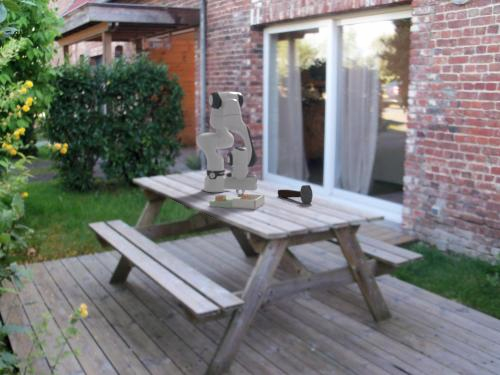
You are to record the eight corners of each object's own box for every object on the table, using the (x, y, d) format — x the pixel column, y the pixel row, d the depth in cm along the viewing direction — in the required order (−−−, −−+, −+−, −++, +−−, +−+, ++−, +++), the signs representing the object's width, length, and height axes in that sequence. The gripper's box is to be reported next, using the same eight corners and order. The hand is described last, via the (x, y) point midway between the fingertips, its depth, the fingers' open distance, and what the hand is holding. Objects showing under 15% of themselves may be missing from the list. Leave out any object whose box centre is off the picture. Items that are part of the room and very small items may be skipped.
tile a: (244, 193, 350) (248, 194, 350) (244, 201, 351) (248, 202, 350) (242, 195, 346) (246, 195, 345) (242, 203, 347) (246, 203, 346)
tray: (242, 202, 355) (242, 193, 354) (264, 203, 350) (264, 194, 350) (232, 207, 338) (232, 198, 337) (255, 209, 334) (255, 200, 333)
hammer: (277, 202, 374) (306, 204, 349) (276, 184, 373) (305, 185, 348) (283, 201, 376) (313, 203, 351) (282, 184, 376) (311, 184, 350)
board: (220, 200, 359) (220, 195, 358) (242, 202, 355) (242, 197, 354) (209, 206, 342) (209, 201, 341) (232, 207, 338) (232, 202, 337)
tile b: (218, 199, 348) (218, 195, 347) (226, 199, 346) (226, 195, 346) (215, 200, 343) (215, 196, 342) (223, 201, 341) (223, 197, 341)
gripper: (258, 174, 347) (258, 197, 349) (226, 172, 353) (226, 195, 355) (255, 175, 341) (255, 199, 343) (222, 173, 347) (222, 196, 349)
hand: (240, 197), depth 349 cm, fingers closed
